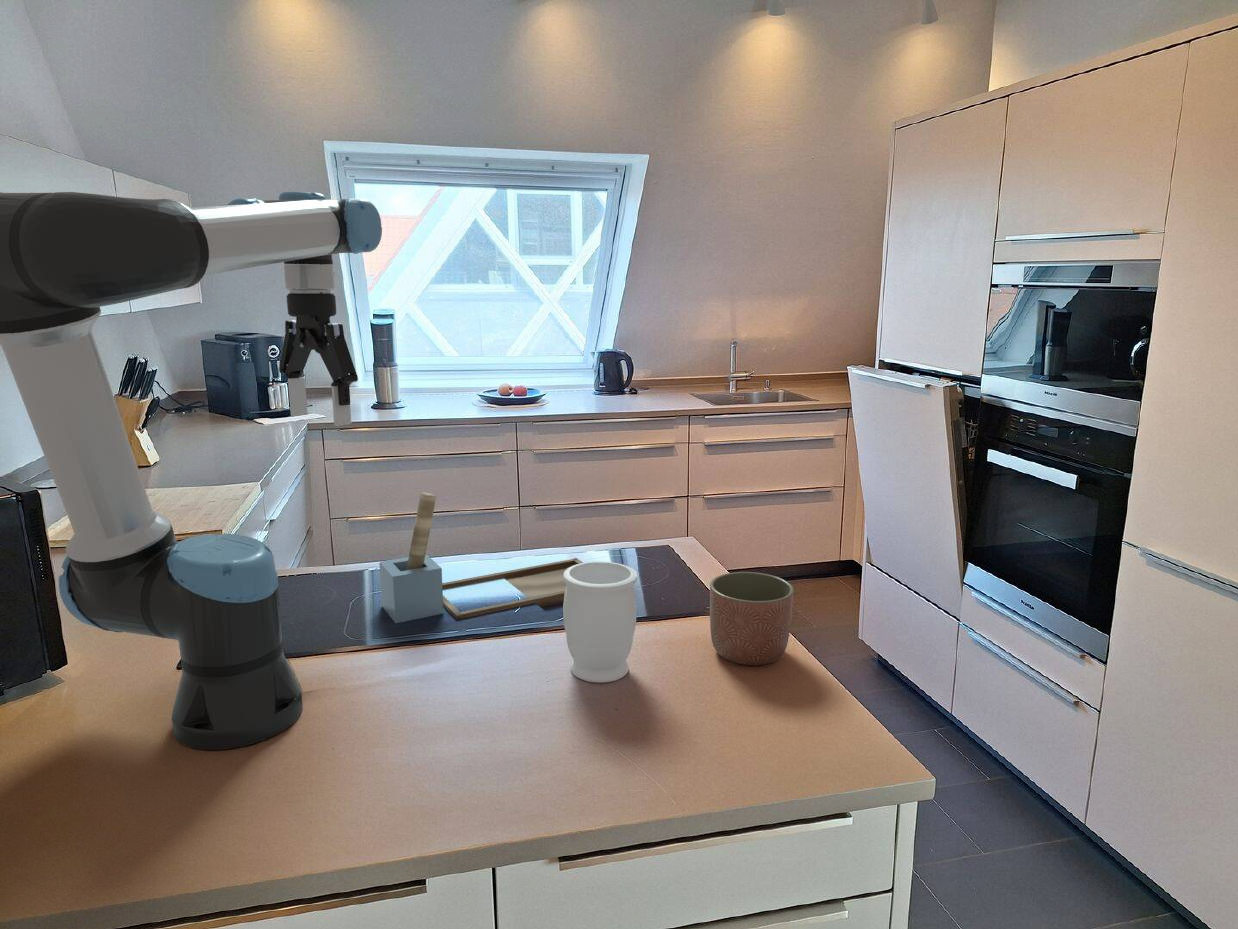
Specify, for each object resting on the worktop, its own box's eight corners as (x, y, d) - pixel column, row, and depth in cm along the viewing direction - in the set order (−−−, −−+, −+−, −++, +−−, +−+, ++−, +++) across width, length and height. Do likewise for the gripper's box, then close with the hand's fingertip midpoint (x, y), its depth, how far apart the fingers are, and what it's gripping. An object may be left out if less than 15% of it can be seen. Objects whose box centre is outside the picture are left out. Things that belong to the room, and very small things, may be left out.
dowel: (443, 608, 138) (438, 493, 134) (401, 616, 135) (395, 499, 130) (437, 603, 141) (433, 490, 136) (397, 611, 137) (391, 495, 133)
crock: (443, 619, 136) (441, 568, 134) (395, 629, 132) (392, 576, 130) (428, 603, 143) (426, 554, 141) (382, 612, 139) (379, 561, 137)
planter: (742, 680, 117) (745, 608, 114) (691, 646, 127) (693, 580, 124) (807, 660, 123) (811, 592, 120) (753, 630, 133) (757, 566, 131)
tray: (615, 591, 149) (615, 582, 148) (456, 625, 134) (456, 615, 133) (576, 566, 161) (576, 558, 161) (427, 595, 146) (427, 586, 146)
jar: (650, 670, 119) (652, 572, 116) (600, 695, 112) (601, 592, 108) (598, 647, 126) (598, 555, 123) (548, 670, 119) (547, 572, 115)
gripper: (375, 293, 129) (382, 425, 134) (292, 290, 144) (302, 409, 149) (332, 293, 123) (341, 432, 128) (251, 290, 139) (262, 414, 144)
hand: (320, 420), depth 139 cm, fingers open, 13 cm apart
